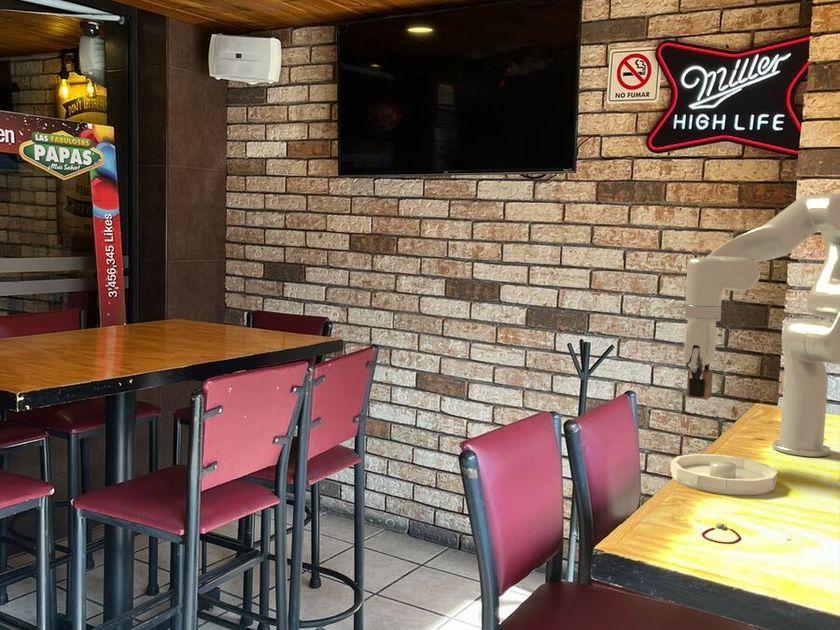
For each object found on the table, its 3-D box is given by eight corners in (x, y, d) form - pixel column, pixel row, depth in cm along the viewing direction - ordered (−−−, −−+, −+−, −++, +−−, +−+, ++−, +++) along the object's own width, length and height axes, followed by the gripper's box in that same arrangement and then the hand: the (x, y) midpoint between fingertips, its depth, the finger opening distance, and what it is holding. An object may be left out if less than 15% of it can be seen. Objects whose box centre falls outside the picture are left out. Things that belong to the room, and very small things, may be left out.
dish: (685, 462, 186) (685, 447, 186) (782, 478, 176) (783, 461, 175) (660, 483, 169) (661, 466, 169) (765, 502, 159) (767, 483, 158)
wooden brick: (691, 394, 191) (692, 368, 190) (711, 396, 189) (712, 370, 188) (686, 397, 187) (687, 370, 186) (706, 399, 185) (708, 372, 184)
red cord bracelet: (708, 525, 145) (709, 520, 145) (745, 532, 142) (746, 526, 142) (698, 540, 138) (698, 534, 137) (736, 548, 135) (737, 542, 134)
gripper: (694, 309, 195) (691, 387, 197) (675, 315, 181) (672, 398, 182) (728, 311, 191) (724, 390, 193) (711, 317, 177) (707, 402, 179)
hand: (699, 393), depth 188 cm, fingers closed on wooden brick, 4 cm apart
